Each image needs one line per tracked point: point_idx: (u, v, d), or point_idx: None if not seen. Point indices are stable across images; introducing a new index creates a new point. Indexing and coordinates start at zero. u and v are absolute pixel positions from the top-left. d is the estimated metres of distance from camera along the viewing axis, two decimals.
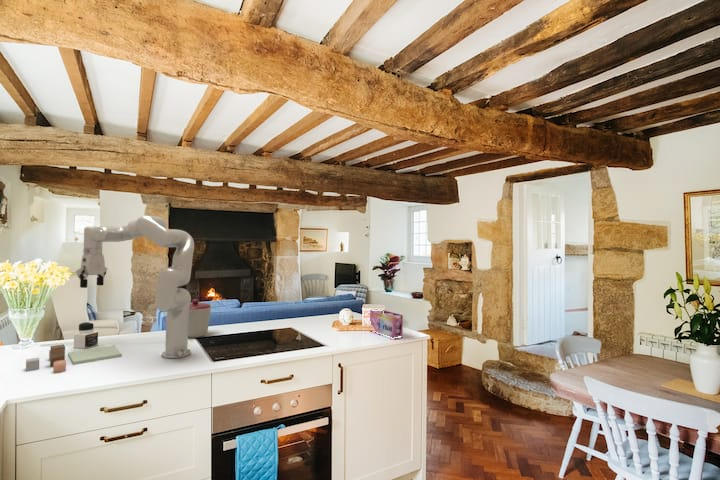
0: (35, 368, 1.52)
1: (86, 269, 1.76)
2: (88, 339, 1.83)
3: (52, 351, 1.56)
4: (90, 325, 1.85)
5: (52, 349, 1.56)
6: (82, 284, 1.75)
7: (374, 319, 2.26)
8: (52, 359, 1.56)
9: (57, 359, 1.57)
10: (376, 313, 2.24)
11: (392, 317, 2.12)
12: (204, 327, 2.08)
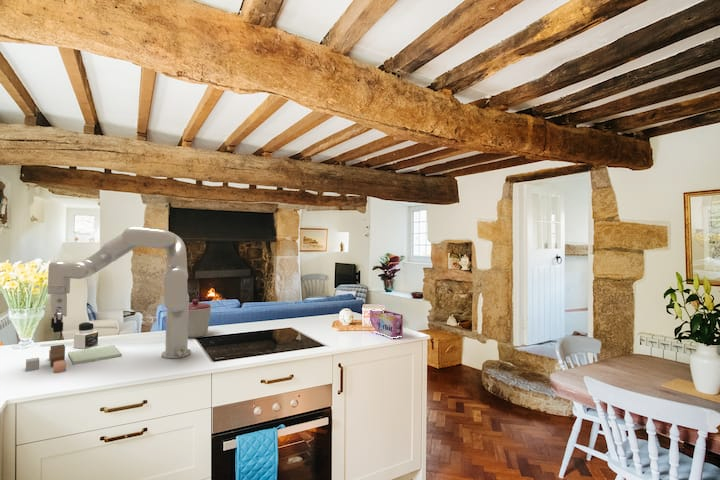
0: (35, 368, 1.52)
1: (63, 310, 1.56)
2: (88, 339, 1.83)
3: (52, 351, 1.56)
4: (90, 325, 1.85)
5: (52, 349, 1.56)
6: (59, 328, 1.54)
7: (374, 319, 2.26)
8: (52, 359, 1.56)
9: (57, 359, 1.57)
10: (376, 313, 2.24)
11: (392, 317, 2.13)
12: (204, 327, 2.08)
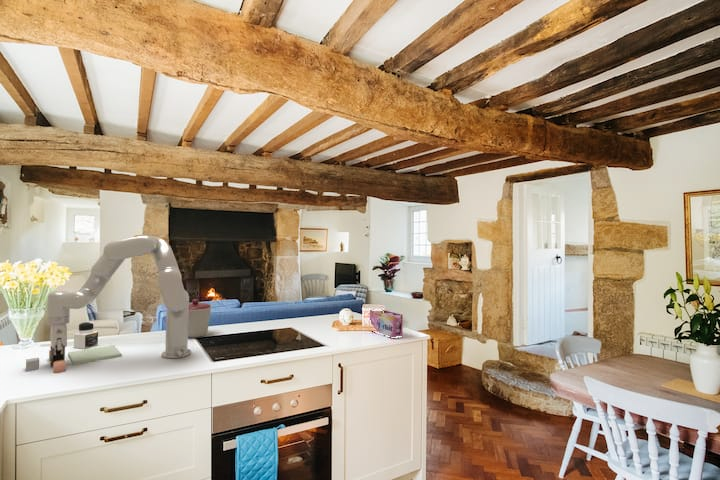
0: (35, 368, 1.52)
1: (63, 344, 1.56)
2: (88, 339, 1.83)
3: (52, 351, 1.56)
4: (90, 325, 1.85)
5: (52, 349, 1.56)
6: (58, 360, 1.56)
7: (373, 319, 2.26)
8: (52, 359, 1.56)
9: None
10: (376, 313, 2.25)
11: (392, 317, 2.13)
12: (204, 327, 2.08)
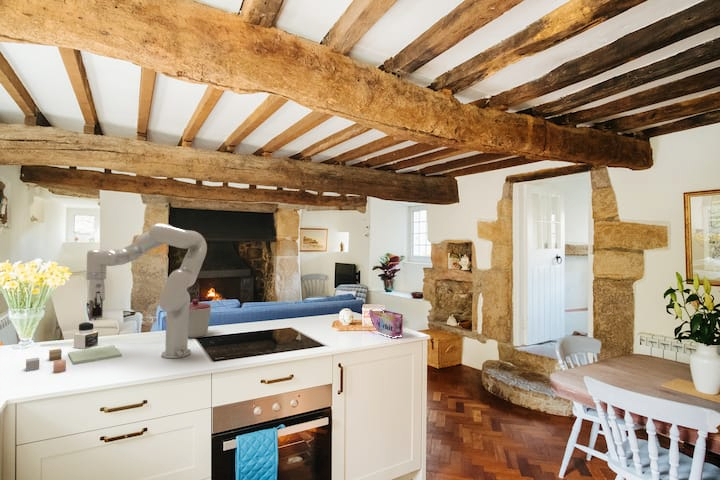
0: (35, 368, 1.52)
1: (101, 298, 1.69)
2: (88, 339, 1.83)
3: (91, 304, 1.69)
4: (90, 325, 1.85)
5: (91, 302, 1.69)
6: (97, 312, 1.69)
7: (373, 318, 2.27)
8: (91, 311, 1.69)
9: None
10: (376, 313, 2.26)
11: (392, 316, 2.14)
12: (204, 327, 2.08)
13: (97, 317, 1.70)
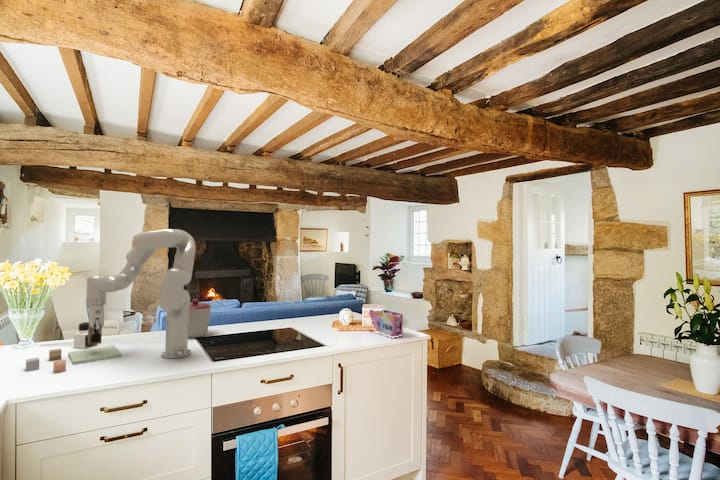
0: (35, 368, 1.52)
1: (100, 324, 1.69)
2: None
3: (90, 330, 1.69)
4: None
5: (90, 328, 1.69)
6: (96, 339, 1.69)
7: (373, 318, 2.27)
8: (90, 337, 1.69)
9: None
10: (376, 312, 2.26)
11: (392, 316, 2.14)
12: (204, 327, 2.08)
13: (96, 343, 1.70)
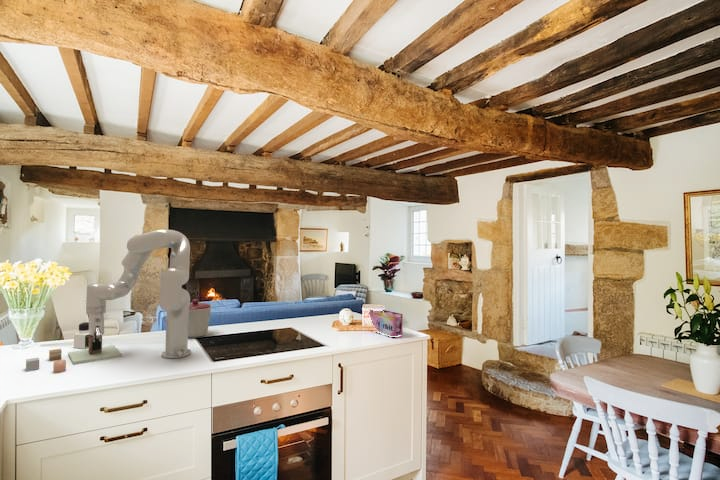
0: (35, 368, 1.52)
1: (101, 331, 1.69)
2: (88, 339, 1.83)
3: (91, 340, 1.69)
4: None
5: (91, 338, 1.69)
6: (97, 346, 1.69)
7: (373, 318, 2.27)
8: (90, 347, 1.69)
9: None
10: (375, 312, 2.26)
11: (392, 316, 2.15)
12: (204, 327, 2.08)
13: (96, 353, 1.71)
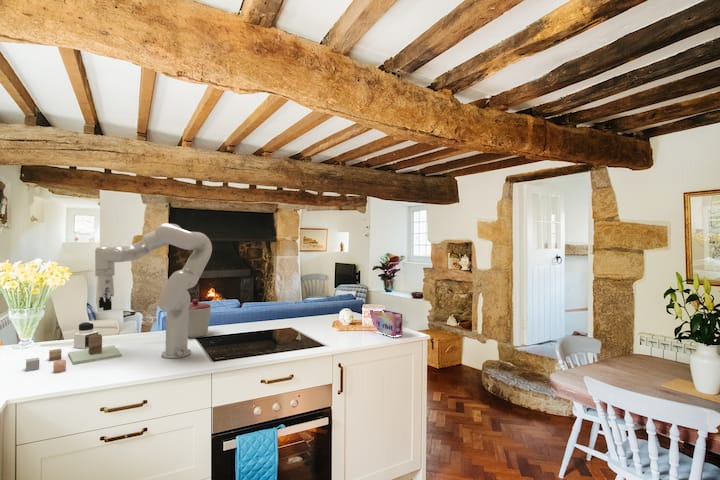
0: (35, 368, 1.52)
1: (110, 291, 1.71)
2: (88, 339, 1.83)
3: (91, 340, 1.69)
4: (90, 325, 1.85)
5: (91, 338, 1.69)
6: (108, 306, 1.70)
7: (373, 318, 2.28)
8: (90, 347, 1.69)
9: (95, 347, 1.70)
10: (375, 312, 2.27)
11: (392, 316, 2.15)
12: (204, 327, 2.08)
13: (96, 353, 1.71)
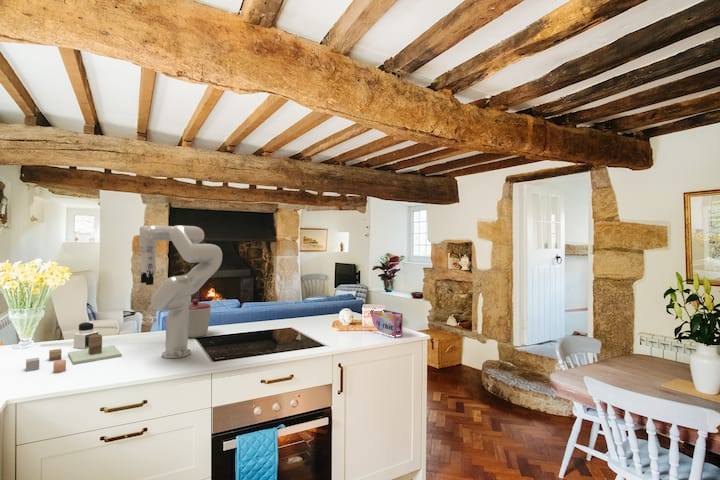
0: (35, 368, 1.52)
1: (153, 267, 1.84)
2: (88, 339, 1.83)
3: (91, 340, 1.69)
4: (90, 325, 1.85)
5: (91, 338, 1.69)
6: (150, 281, 1.82)
7: (373, 318, 2.28)
8: (90, 347, 1.69)
9: (95, 347, 1.70)
10: (375, 312, 2.27)
11: (393, 316, 2.16)
12: (204, 327, 2.08)
13: (96, 353, 1.71)
